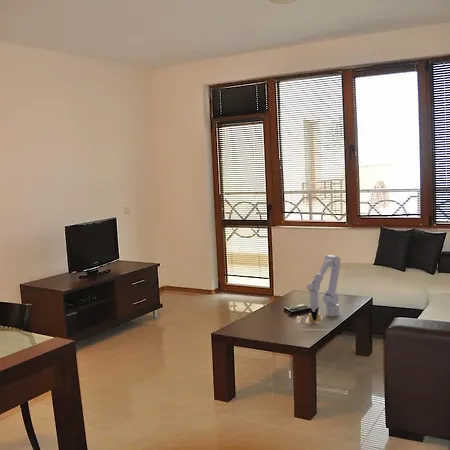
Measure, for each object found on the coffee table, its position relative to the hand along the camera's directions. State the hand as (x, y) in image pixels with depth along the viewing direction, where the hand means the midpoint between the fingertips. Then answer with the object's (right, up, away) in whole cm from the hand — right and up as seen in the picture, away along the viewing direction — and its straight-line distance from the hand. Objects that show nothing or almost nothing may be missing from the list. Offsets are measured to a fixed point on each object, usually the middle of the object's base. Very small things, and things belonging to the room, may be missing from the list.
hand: (314, 318), depth 386 cm
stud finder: (0, -1, 0) cm, 1 cm away
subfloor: (-4, -2, +1) cm, 4 cm away
